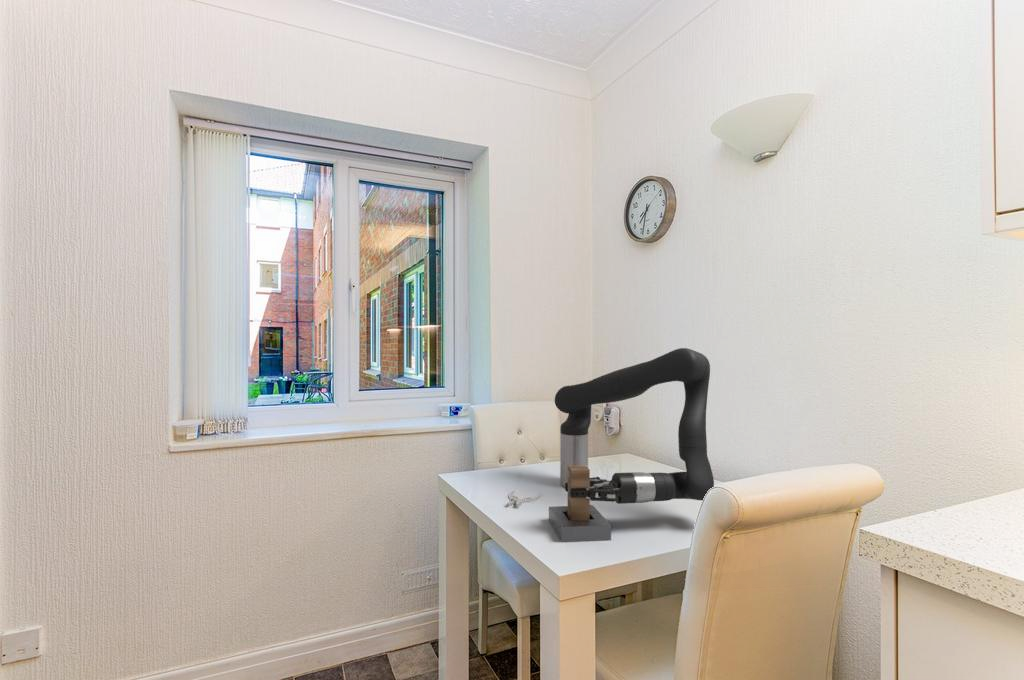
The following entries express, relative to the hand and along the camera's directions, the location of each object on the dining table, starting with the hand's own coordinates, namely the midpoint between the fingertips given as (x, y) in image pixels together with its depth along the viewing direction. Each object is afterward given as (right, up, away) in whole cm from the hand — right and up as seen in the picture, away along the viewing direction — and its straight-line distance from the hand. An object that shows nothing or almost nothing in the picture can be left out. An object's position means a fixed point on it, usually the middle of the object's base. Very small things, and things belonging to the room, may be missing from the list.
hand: (568, 489), depth 122 cm
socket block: (+3, -10, 0) cm, 10 cm away
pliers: (-12, -11, +24) cm, 28 cm away
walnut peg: (+3, -9, 0) cm, 9 cm away
